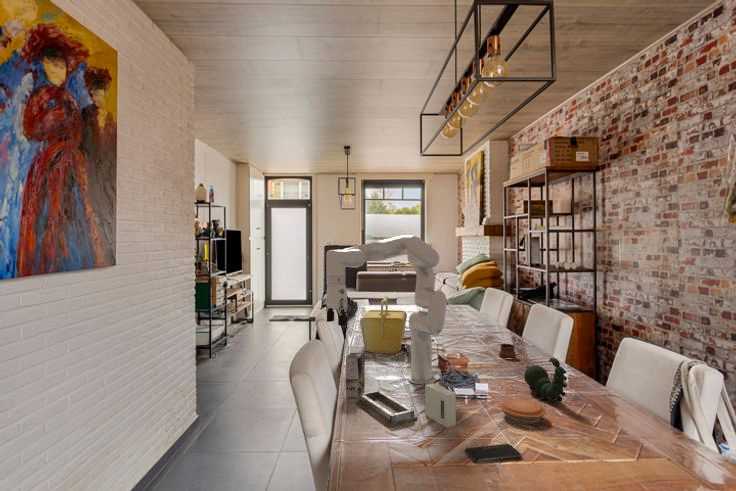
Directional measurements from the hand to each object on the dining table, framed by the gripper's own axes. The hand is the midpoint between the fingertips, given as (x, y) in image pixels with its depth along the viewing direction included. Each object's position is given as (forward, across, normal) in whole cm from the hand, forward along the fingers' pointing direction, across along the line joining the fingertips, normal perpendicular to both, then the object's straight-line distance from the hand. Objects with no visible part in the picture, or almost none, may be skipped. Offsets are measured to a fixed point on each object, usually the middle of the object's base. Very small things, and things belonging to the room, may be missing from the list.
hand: (336, 323), depth 168 cm
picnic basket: (+31, +58, -64) cm, 92 cm away
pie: (+31, -52, -48) cm, 77 cm away
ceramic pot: (+32, +4, -108) cm, 113 cm away
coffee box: (+31, +2, -10) cm, 32 cm away
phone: (+31, -64, -18) cm, 73 cm away
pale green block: (+31, -37, -21) cm, 53 cm away
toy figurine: (+31, -43, -72) cm, 90 cm away
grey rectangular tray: (+31, -20, -9) cm, 38 cm away
